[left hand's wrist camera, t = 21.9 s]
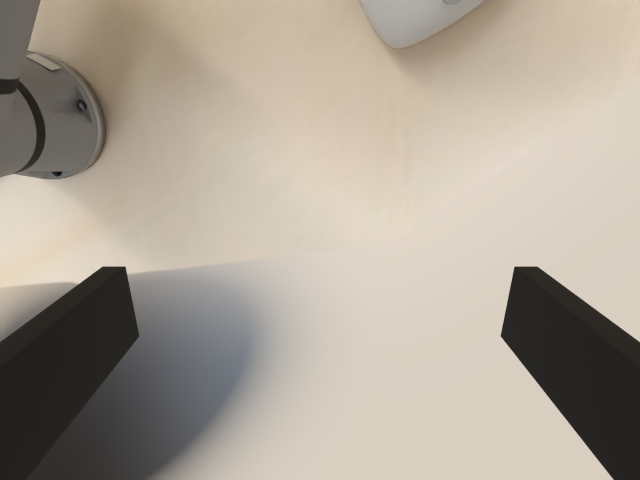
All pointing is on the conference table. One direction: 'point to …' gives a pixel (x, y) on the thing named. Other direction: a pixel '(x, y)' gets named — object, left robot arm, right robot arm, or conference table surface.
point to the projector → (413, 18)
